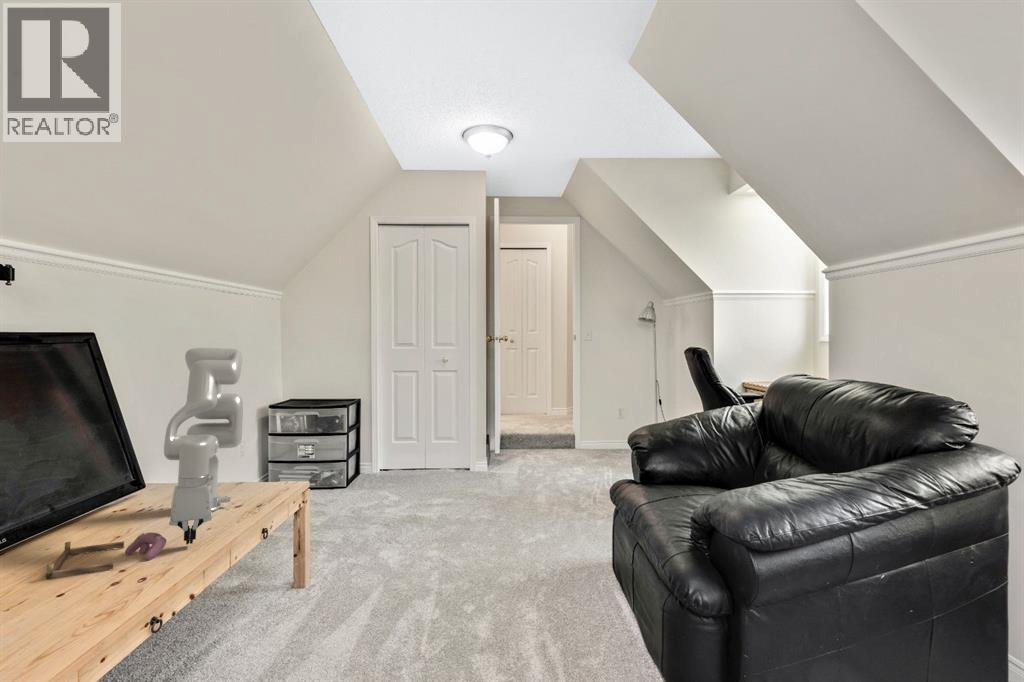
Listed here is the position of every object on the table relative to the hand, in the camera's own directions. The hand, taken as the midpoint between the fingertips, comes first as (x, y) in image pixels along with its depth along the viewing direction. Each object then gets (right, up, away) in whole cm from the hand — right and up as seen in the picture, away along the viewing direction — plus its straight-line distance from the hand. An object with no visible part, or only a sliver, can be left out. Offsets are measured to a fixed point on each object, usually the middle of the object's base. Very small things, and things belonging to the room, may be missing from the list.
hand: (189, 542), depth 144 cm
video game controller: (-9, -1, -6) cm, 11 cm away
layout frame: (-20, 0, -12) cm, 23 cm away
